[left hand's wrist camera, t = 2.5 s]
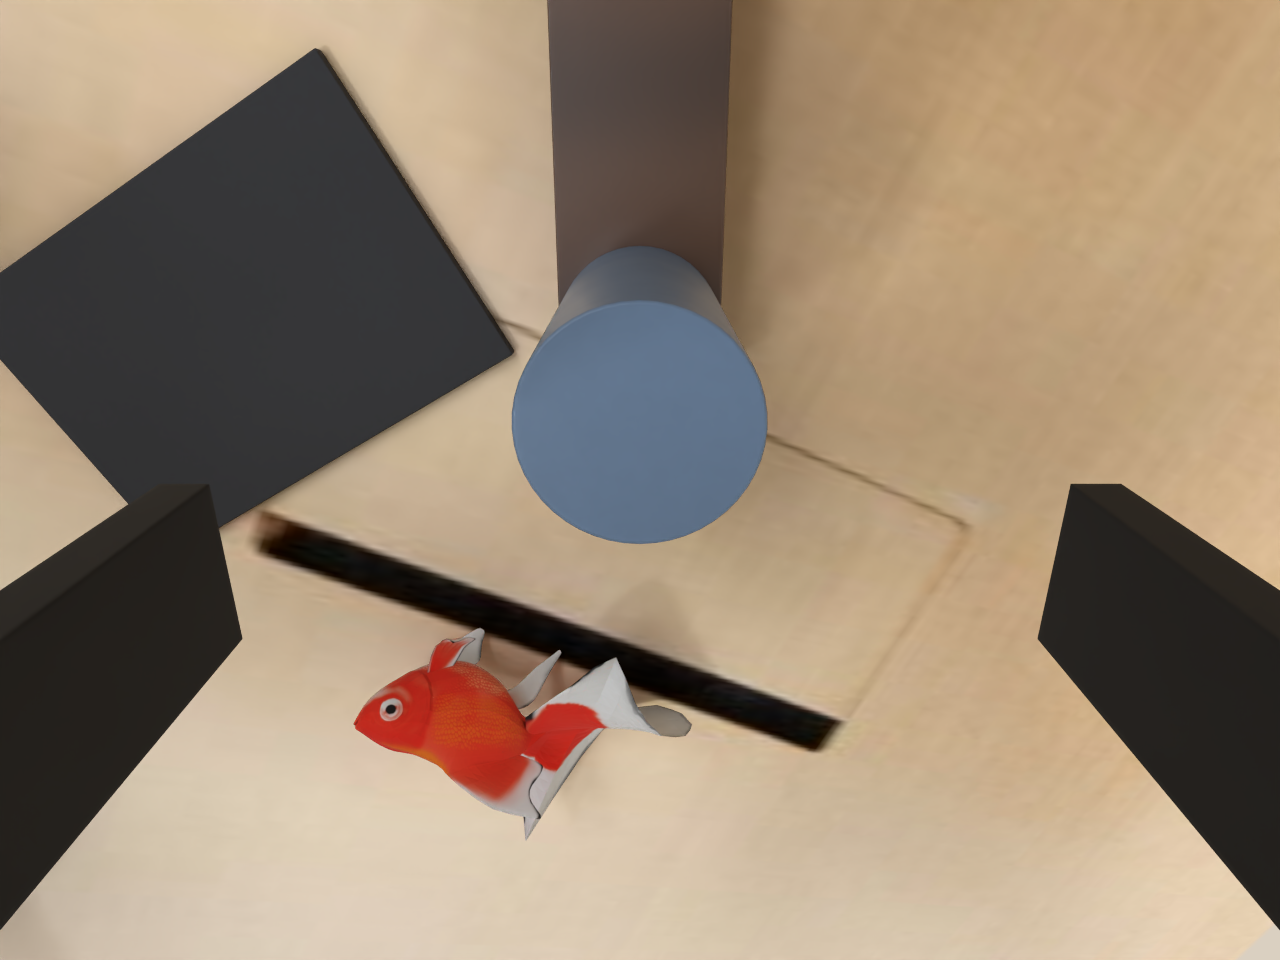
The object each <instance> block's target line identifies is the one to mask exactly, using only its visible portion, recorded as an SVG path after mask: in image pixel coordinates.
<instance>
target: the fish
mask: <svg viewBox="0 0 1280 960" xmlns="http://www.w3.org/2000/svg"><path fill="white" fill-rule="evenodd" d="M484 633H485V632H484V630H483V629H481V628H479V629H476V630H474V631H472V632H470V633H469V634H467V635H466V636H464V637H463V638H458V639H445V640H443V641H442V642H441V643H440V644H438V645H436V646H435V648H434V651H433V653H432V655H431V659H430V663H429V664H428V665H425V666H423V667H420V668H418V669H416V670H414V671H411V672H408V673H407V674H405V675H403V676H402V677H400V678H398V679H397V680H395V681H393V682H392V683H390V684H388V685H387V686H385V687H384V688H382V689H381V690H379V691H378V692H377V693H376V694H375V695H373V696H372V697H371V698H370V699H369V700H368V702H367V703H366V704H365V705H364V707H363V708H362V710H361V712H360V713H359V715H358V717H357V718H356V720H355V722H354V725H355V729H356V730H358V731H360V732H361V733H363V734H364V735H365V736H367V737H368V738H370V739H371V740H373V741H374V742H376V743H377V744H379V745H381V746H383V747H385V748H387V749H390V750H393V751H397V752H403V753H409V754H413V755H416V756H419V757H421V758H424V759H426V760H428V761H430V762H432V763H434V764H436V765H438V766H439V767H440V768H442V769H443V770H444V772H445V773H446V774H447V775H448V776H449V777H450V778H451V779H452V780H453V781H454V782H456V783H457V784H458V785H459V786H460V787H461V788H463V789H464V790H465V791H467V792H468V793H469V794H470V795H472V796H473V797H474V798H476V799H477V800H479V801H480V802H482V803H484V804H485V805H487V806H489V807H490V808H492V809H494V810H498V811H501V812H505V813H508V814H512V815H517V816H523V817H524V827H525V838H526V840H527V838H528V837H529V835H530V834H531V832H532V831H533V829H534V828H535V826H536V824H537V823H538V821H539V820H540V818H541V817H542V815H543V813H544V812H545V810H546V809H547V807H548V806H549V804H550V803H551V801H552V799H553V798H554V796H555V795H556V793H557V792H558V791H559V789H560V788H561V786H562V785H563V783H564V782H565V780H566V779H567V777H568V776H569V774H570V773H571V771H572V770H573V768H574V767H575V765H576V764H577V762H578V761H579V759H580V758H581V756H582V755H583V754H584V753H585V751H586V750H587V749H588V748H589V746H590V745H591V744H592V742H593V741H594V740H595V739H596V737H597V736H598V735H599V734H600V732H601V731H602V730H603V729H604V728H609V729H631V730H639V731H645V732H650V733H653V734H656V735H659V736H669V737H680V736H686V734H687V733H688V732H689V731H690V729H691V726H692V724H691V723H690V722H689V721H688V720H687V719H686V718H685V717H684V716H683V714H681V713H679V712H676V711H674V710H671V709H668V708H665V707H661V706H658V705H653V706H643V707H637V705H636V704H635V701H634V699H633V696H632V694H631V691H630V688H629V686H628V683H627V681H626V679H625V676H624V674H623V672H622V670H621V667H620V665H619V663H618V661H617V659H616V658H614V659H611V660H609V661H607V662H605V663H602V664H600V665H598V666H596V667H594V668H593V669H592V670H590V671H589V672H588V673H587V674H585V675H584V676H583V677H582V678H581V679H579V680H578V681H577V682H576V683H574V684H573V685H572V686H570V687H569V688H567V689H566V690H564V691H563V692H561V693H560V694H558V695H556V696H555V697H554V698H552V699H551V700H549V701H548V702H547V703H545V704H544V705H542V706H541V707H540V708H538V709H537V710H535V711H534V712H533V713H531V714H530V715H529V716H527V717H524V716H523V715H522V714H521V713H520V711H519V710H518V709H521V708H524V707H526V706H528V705H529V704H530V703H531V702H533V701H534V699H535V698H536V696H537V695H538V693H539V691H540V689H541V687H542V686H543V684H544V682H545V680H546V678H547V676H548V674H549V673H550V671H551V669H552V667H553V666H554V664H555V663H556V661H557V659H558V658H559V656H560V655H561V651H560V650H558V651H557V652H556V653H555V654H553V655H552V656H551V657H549V658H548V659H547V660H545V661H544V662H542V663H541V664H540V665H538V666H537V667H536V668H535V669H534V670H533V671H532V672H531V673H529V674H528V675H527V676H526V677H525V678H524V679H523V680H522V681H521V682H520V683H519V684H518V685H517V686H515V687H514V688H512V689H510V690H506V688H505V687H504V686H503V685H502V684H501V683H500V682H499V681H498V680H497V679H496V678H495V677H494V676H492V675H491V674H490V673H488V672H487V671H485V670H484V669H482V668H480V667H478V666H476V665H475V664H476V663H477V662H478V661H479V660H480V657H481V647H482V641H483V638H484Z"/></svg>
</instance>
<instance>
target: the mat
mask: <svg viewBox="0 0 1280 960" xmlns="http://www.w3.org/2000/svg"><path fill="white" fill-rule="evenodd" d="M513 352H514V350H513V348H512V347H511V345H510V344H509V342H508V341H507V339H506V338H505V336H504V334H503V333H502V331H501V330H500V328H499V327H498V325H497V324H496V322H495V320H494V319H493V317H492V316H491V314H490V313H489V311H488V310H487V308H486V306H485V305H484V303H483V302H482V300H481V299H480V297H479V296H478V294H477V292H476V291H475V289H474V288H473V286H472V285H471V283H470V282H469V280H468V278H467V277H466V275H465V274H464V272H463V271H462V269H461V268H460V266H459V264H458V263H457V261H456V260H455V258H454V257H453V255H452V254H451V252H450V250H449V249H448V247H447V246H446V244H445V243H444V241H443V240H442V238H441V236H440V235H439V233H438V232H437V230H436V229H435V227H434V226H433V224H432V222H431V221H430V219H429V218H428V216H427V215H426V213H425V212H424V210H423V208H422V207H421V205H420V204H419V202H418V201H417V199H416V198H415V196H414V194H413V193H412V191H411V190H410V188H409V187H408V185H407V184H406V182H405V180H404V179H403V177H402V176H401V174H400V173H399V171H398V170H397V168H396V166H395V165H394V163H393V162H392V160H391V159H390V157H389V156H388V154H387V152H386V151H385V149H384V148H383V146H382V145H381V143H380V142H379V140H378V138H377V137H376V135H375V134H374V132H373V131H372V129H371V128H370V126H369V124H368V123H367V121H366V120H365V118H364V117H363V115H362V114H361V112H360V110H359V109H358V107H357V106H356V104H355V103H354V101H353V100H352V98H351V96H350V95H349V93H348V92H347V90H346V89H345V87H344V86H343V84H342V82H341V81H340V79H339V78H338V76H337V75H336V73H335V72H334V70H333V68H332V67H331V65H330V64H329V62H328V61H327V59H326V58H325V56H324V54H323V53H322V51H321V50H319V49H316V48H315V49H313V50H312V51H310V52H309V53H307V54H306V55H305V56H303V57H302V58H300V59H299V60H298V61H296V62H295V63H293V64H292V65H291V66H289V67H288V68H286V69H285V70H284V71H282V72H281V73H279V74H278V75H277V76H275V77H274V78H272V79H271V80H270V81H268V82H267V83H265V84H264V85H263V86H261V87H260V88H258V89H257V90H256V91H254V92H253V93H251V94H250V95H249V96H247V97H246V98H244V99H243V100H242V101H240V102H239V103H237V104H236V105H235V106H233V107H232V108H230V109H229V110H228V111H226V112H225V113H223V114H222V115H221V116H219V117H218V118H216V119H215V120H214V121H212V122H211V123H209V124H208V125H207V126H205V127H204V128H202V129H201V130H200V131H198V132H197V133H195V134H194V135H193V136H191V137H190V138H188V139H187V140H186V141H184V142H183V143H181V144H180V145H179V146H177V147H176V148H174V149H173V150H172V151H170V152H169V153H167V154H166V155H165V156H163V157H162V158H160V159H159V160H158V161H156V162H155V163H153V164H152V165H151V166H149V167H148V168H146V169H145V170H144V171H142V172H141V173H139V174H138V175H137V176H135V177H134V178H132V179H131V180H129V181H128V182H127V183H125V184H124V185H122V186H121V187H120V188H118V189H117V190H115V191H114V192H113V193H111V194H110V195H108V196H107V197H106V198H104V199H103V200H101V201H100V202H99V203H97V204H96V205H94V206H93V207H92V208H90V209H89V210H87V211H86V212H85V213H83V214H82V215H80V216H79V217H78V218H76V219H75V220H73V221H72V222H71V223H69V224H68V225H66V226H65V227H64V228H62V229H61V230H59V231H58V232H57V233H55V234H54V235H52V236H51V237H50V238H48V239H47V240H45V241H44V242H43V243H41V244H40V245H38V246H37V247H36V248H34V249H33V250H31V251H30V252H29V253H27V254H26V255H24V256H23V257H22V258H20V259H19V260H17V261H16V262H15V263H13V264H12V265H10V266H9V267H8V268H6V269H5V270H3V271H2V272H1V273H0V360H1V361H2V362H3V363H4V364H5V365H6V367H7V368H8V369H9V370H10V371H11V372H12V373H13V374H14V376H15V377H16V378H17V379H18V380H19V381H20V382H21V383H22V385H23V386H24V387H25V388H26V389H27V390H28V391H29V392H30V394H31V395H32V396H33V397H34V398H35V399H36V400H37V401H38V403H39V404H40V405H41V406H42V407H43V408H44V409H45V411H46V412H47V413H48V414H49V415H50V416H51V417H52V418H53V420H54V421H55V422H56V423H57V424H58V425H59V426H60V427H61V429H62V430H63V431H64V432H65V433H66V434H67V435H68V436H69V438H70V439H71V440H72V441H73V442H74V443H75V444H76V445H77V447H78V448H79V449H80V450H81V451H82V452H83V453H84V454H85V456H86V457H87V458H88V459H89V460H90V461H91V462H92V463H93V465H94V466H95V467H96V468H97V469H98V470H99V471H100V473H101V474H102V475H103V476H104V477H105V478H106V479H107V480H108V482H109V483H110V484H111V485H112V486H113V487H114V488H115V489H116V491H117V492H118V493H119V494H120V495H121V496H122V497H123V498H124V500H125V501H126V502H127V503H128V504H130V503H131V502H133V501H134V500H136V499H137V498H139V497H140V496H142V495H143V494H145V493H146V492H148V491H149V490H151V489H152V488H154V487H155V486H157V485H158V484H209V486H210V490H211V495H212V500H213V504H214V509H215V513H216V518H217V523H218V527H221V526H223V525H224V524H226V523H228V522H229V521H231V520H233V519H235V518H236V517H238V516H240V515H241V514H243V513H245V512H246V511H248V510H250V509H251V508H253V507H255V506H257V505H258V504H260V503H262V502H263V501H265V500H267V499H268V498H270V497H272V496H274V495H275V494H277V493H279V492H280V491H282V490H284V489H285V488H287V487H289V486H290V485H292V484H294V483H296V482H297V481H299V480H301V479H302V478H304V477H306V476H307V475H309V474H311V473H313V472H314V471H316V470H318V469H319V468H321V467H323V466H324V465H326V464H328V463H329V462H331V461H333V460H335V459H336V458H338V457H340V456H341V455H343V454H345V453H346V452H348V451H350V450H352V449H353V448H355V447H357V446H358V445H360V444H362V443H363V442H365V441H367V440H368V439H370V438H372V437H374V436H375V435H377V434H379V433H380V432H382V431H384V430H385V429H387V428H389V427H391V426H392V425H394V424H396V423H397V422H399V421H401V420H402V419H404V418H406V417H407V416H409V415H411V414H413V413H414V412H416V411H418V410H419V409H421V408H423V407H424V406H426V405H428V404H429V403H431V402H433V401H435V400H436V399H438V398H440V397H441V396H443V395H445V394H446V393H448V392H450V391H452V390H453V389H455V388H457V387H458V386H460V385H462V384H463V383H465V382H467V381H468V380H470V379H472V378H474V377H475V376H477V375H479V374H480V373H482V372H484V371H485V370H487V369H489V368H491V367H492V366H494V365H496V364H497V363H499V362H501V361H502V360H504V359H506V358H507V357H509V356H511V355H512V354H513Z"/></svg>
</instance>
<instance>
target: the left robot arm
mask: <svg viewBox="0 0 1280 960" xmlns="http://www.w3.org/2000/svg"><path fill="white" fill-rule="evenodd" d="M241 640H242V634H241V630H240V625H239V621H238V616H237V611H236V607H235V602H234V597H233V593H232V588H231V583H230V579H229V574H228V569H227V565H226V560H225V555H224V551H223V546H222V541H221V537H220V532H219V527H218V523H217V518H216V513H215V509H214V504H213V500H212V495H211V490H210V486H209V484H158V485H157V486H155V487H154V488H152V489H151V490H149V491H148V492H146V493H145V494H143V495H142V496H140V497H139V498H137V499H136V500H134V501H133V502H131V503H130V504H128V505H127V506H125V507H124V508H122V509H121V510H119V511H118V512H116V513H115V514H113V515H112V516H110V517H109V518H107V519H106V520H104V521H103V522H101V523H100V524H98V525H97V526H96V527H94V528H93V529H91V530H90V531H88V532H87V533H85V534H84V535H82V536H81V537H79V538H78V539H76V540H75V541H73V542H72V543H70V544H69V545H67V546H66V547H64V548H63V549H61V550H60V551H58V552H57V553H55V554H54V555H52V556H51V557H49V558H48V559H46V560H45V561H43V562H42V563H40V564H39V565H37V566H36V567H35V568H33V569H32V570H30V571H29V572H27V573H26V574H24V575H23V576H21V577H20V578H18V579H17V580H15V581H14V582H12V583H11V584H9V585H8V586H6V587H5V588H3V589H2V590H0V930H1V929H2V927H3V926H4V925H5V924H6V923H7V921H8V920H9V919H10V918H11V917H12V915H13V914H14V913H15V912H16V911H17V909H18V908H19V907H20V906H21V904H22V903H23V902H24V901H25V900H26V898H27V897H28V896H29V895H30V894H31V892H32V891H33V890H34V889H35V888H36V886H37V885H38V884H39V883H40V882H41V880H42V879H43V878H44V877H45V876H46V874H47V873H48V872H49V871H50V870H51V868H52V867H53V866H54V865H55V864H56V862H57V861H58V860H59V859H60V858H61V856H62V855H63V854H64V853H65V852H66V850H67V849H68V848H69V847H70V846H71V844H72V843H73V842H74V841H75V840H76V838H77V837H78V836H79V835H80V834H81V832H82V831H83V830H84V829H85V828H86V826H87V825H88V824H89V823H90V822H91V820H92V819H93V818H94V817H95V815H96V814H97V813H98V812H99V811H100V809H101V808H102V807H103V806H104V805H105V803H106V802H107V801H108V800H109V799H110V797H111V796H112V795H113V794H114V793H115V791H116V790H117V789H118V788H119V787H120V785H121V784H122V783H123V782H124V781H125V779H126V778H127V777H128V776H129V775H130V773H131V772H132V771H133V770H134V769H135V767H136V766H137V765H138V764H139V763H140V761H141V760H142V759H143V758H144V757H145V755H146V754H147V753H148V752H149V751H150V749H151V748H152V747H153V746H154V745H155V743H156V742H157V741H158V740H159V739H160V737H161V736H162V735H163V734H164V733H165V731H166V730H167V729H168V728H169V726H170V725H171V724H172V723H173V722H174V720H175V719H176V718H177V717H178V716H179V714H180V713H181V712H182V711H183V710H184V708H185V707H186V706H187V705H188V704H189V702H190V701H191V700H192V699H193V698H194V696H195V695H196V694H197V693H198V692H199V690H200V689H201V688H202V687H203V686H204V684H205V683H206V682H207V681H208V680H209V678H210V677H211V676H212V675H213V674H214V672H215V671H216V670H217V669H218V668H219V666H220V665H221V664H222V663H223V662H224V660H225V659H226V658H227V657H228V656H229V654H230V653H231V652H232V651H233V650H234V648H235V647H236V646H237V645H238V643H239V642H240V641H241ZM1038 640H1039V641H1040V642H1041V643H1042V645H1043V646H1044V647H1045V648H1046V650H1047V651H1048V652H1049V653H1050V654H1051V656H1052V657H1053V658H1054V659H1055V660H1056V662H1057V663H1058V664H1059V665H1060V666H1061V668H1062V669H1063V670H1064V671H1065V672H1066V674H1067V675H1068V676H1069V677H1070V678H1071V680H1072V681H1073V682H1074V683H1075V684H1076V686H1077V687H1078V688H1079V689H1080V690H1081V692H1082V693H1083V694H1084V695H1085V696H1086V698H1087V699H1088V700H1089V701H1090V702H1091V704H1092V705H1093V706H1094V707H1095V708H1096V710H1097V711H1098V712H1099V713H1100V714H1101V716H1102V717H1103V718H1104V719H1105V720H1106V722H1107V723H1108V724H1109V725H1110V726H1111V728H1112V729H1113V730H1114V731H1115V733H1116V734H1117V735H1118V736H1119V737H1120V739H1121V740H1122V741H1123V742H1124V743H1125V745H1126V746H1127V747H1128V748H1129V749H1130V751H1131V752H1132V753H1133V754H1134V755H1135V757H1136V758H1137V759H1138V760H1139V761H1140V763H1141V764H1142V765H1143V766H1144V767H1145V769H1146V770H1147V771H1148V772H1149V773H1150V775H1151V776H1152V777H1153V778H1154V779H1155V781H1156V782H1157V783H1158V784H1159V785H1160V787H1161V788H1162V789H1163V790H1164V791H1165V793H1166V794H1167V795H1168V796H1169V797H1170V799H1171V800H1172V801H1173V802H1174V803H1175V805H1176V806H1177V807H1178V808H1179V809H1180V811H1181V812H1182V813H1183V814H1184V815H1185V817H1186V818H1187V819H1188V820H1189V822H1190V823H1191V824H1192V825H1193V826H1194V828H1195V829H1196V830H1197V831H1198V832H1199V834H1200V835H1201V836H1202V837H1203V838H1204V840H1205V841H1206V842H1207V843H1208V844H1209V846H1210V847H1211V848H1212V849H1213V850H1214V852H1215V853H1216V854H1217V855H1218V856H1219V858H1220V859H1221V860H1222V861H1223V862H1224V864H1225V865H1226V866H1227V867H1228V868H1229V870H1230V871H1231V872H1232V873H1233V874H1234V876H1235V877H1236V878H1237V879H1238V880H1239V882H1240V883H1241V884H1242V885H1243V886H1244V888H1245V889H1246V890H1247V891H1248V892H1249V894H1250V895H1251V896H1252V897H1253V898H1254V900H1255V901H1256V902H1257V903H1258V904H1259V906H1260V907H1261V908H1262V909H1263V911H1264V912H1265V913H1266V914H1267V915H1268V917H1269V918H1270V919H1271V920H1272V921H1273V923H1274V924H1275V925H1276V926H1277V927H1278V929H1279V930H1280V590H1278V589H1277V588H1275V587H1274V586H1272V585H1271V584H1269V583H1268V582H1266V581H1265V580H1263V579H1262V578H1260V577H1259V576H1257V575H1256V574H1254V573H1253V572H1251V571H1250V570H1248V569H1247V568H1245V567H1244V566H1243V565H1241V564H1240V563H1238V562H1237V561H1235V560H1234V559H1232V558H1231V557H1229V556H1228V555H1226V554H1225V553H1223V552H1222V551H1220V550H1219V549H1217V548H1216V547H1214V546H1213V545H1211V544H1210V543H1208V542H1207V541H1205V540H1204V539H1202V538H1201V537H1199V536H1198V535H1196V534H1195V533H1193V532H1192V531H1190V530H1189V529H1187V528H1186V527H1184V526H1183V525H1182V524H1180V523H1179V522H1177V521H1176V520H1174V519H1173V518H1171V517H1170V516H1168V515H1167V514H1165V513H1164V512H1162V511H1161V510H1159V509H1158V508H1156V507H1155V506H1153V505H1152V504H1150V503H1149V502H1147V501H1146V500H1144V499H1143V498H1141V497H1140V496H1138V495H1137V494H1135V493H1134V492H1132V491H1131V490H1129V489H1128V488H1126V487H1125V486H1123V485H1122V484H1071V486H1070V490H1069V495H1068V500H1067V504H1066V509H1065V513H1064V518H1063V523H1062V527H1061V532H1060V537H1059V541H1058V546H1057V551H1056V555H1055V560H1054V565H1053V569H1052V574H1051V579H1050V583H1049V588H1048V593H1047V597H1046V602H1045V607H1044V611H1043V616H1042V621H1041V625H1040V630H1039V634H1038Z"/></svg>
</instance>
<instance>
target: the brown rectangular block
mask: <svg viewBox="0 0 1280 960" xmlns="http://www.w3.org/2000/svg"><path fill="white" fill-rule="evenodd" d="M547 5H548V32H549V59H550V85H551V112H552V139H553V166H554V193H555V219H556V246H557V273H558V300H559V305H560V303H561V302H562V300H563V298H564V296H565V294H566V293H567V291H568V289H569V287H570V286H571V284H572V282H573V281H574V279H575V278H576V277H577V276H578V274H579V273H580V272H581V271H582V270H583V269H584V268H585V267H586V266H587V265H588V264H590V263H591V262H592V261H594V260H595V259H597V258H598V257H600V256H602V255H604V254H606V253H608V252H611V251H614V250H616V249H620V248H625V247H631V246H649V247H655V248H660V249H663V250H666V251H669V252H672V253H674V254H676V255H678V256H680V257H682V258H683V259H684V260H686V261H687V262H689V263H690V264H691V265H692V266H694V267H695V268H696V269H697V270H698V271H699V272H700V274H701V275H702V276H703V277H704V278H705V280H706V281H707V283H708V284H709V286H710V288H711V289H712V291H713V293H714V295H715V297H716V298H717V300H718V302H719V304H720V306H721V293H722V266H723V240H724V213H725V186H726V159H727V132H728V105H729V78H730V51H731V24H732V0H547Z"/></svg>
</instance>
